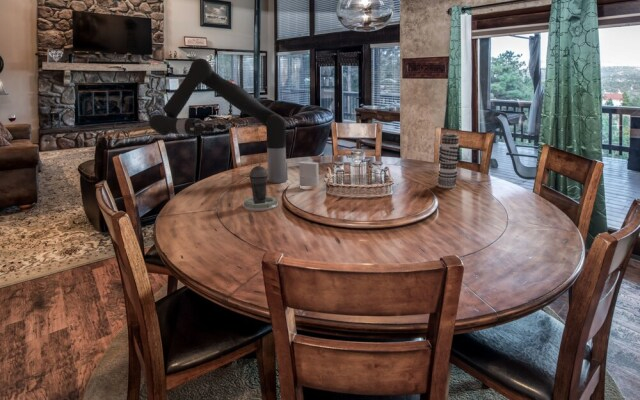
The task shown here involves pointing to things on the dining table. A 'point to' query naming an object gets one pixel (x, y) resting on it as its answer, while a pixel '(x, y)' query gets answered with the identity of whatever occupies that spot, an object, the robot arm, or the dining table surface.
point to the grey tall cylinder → (448, 160)
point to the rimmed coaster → (268, 204)
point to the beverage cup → (258, 183)
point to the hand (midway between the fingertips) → (219, 128)
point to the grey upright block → (308, 173)
